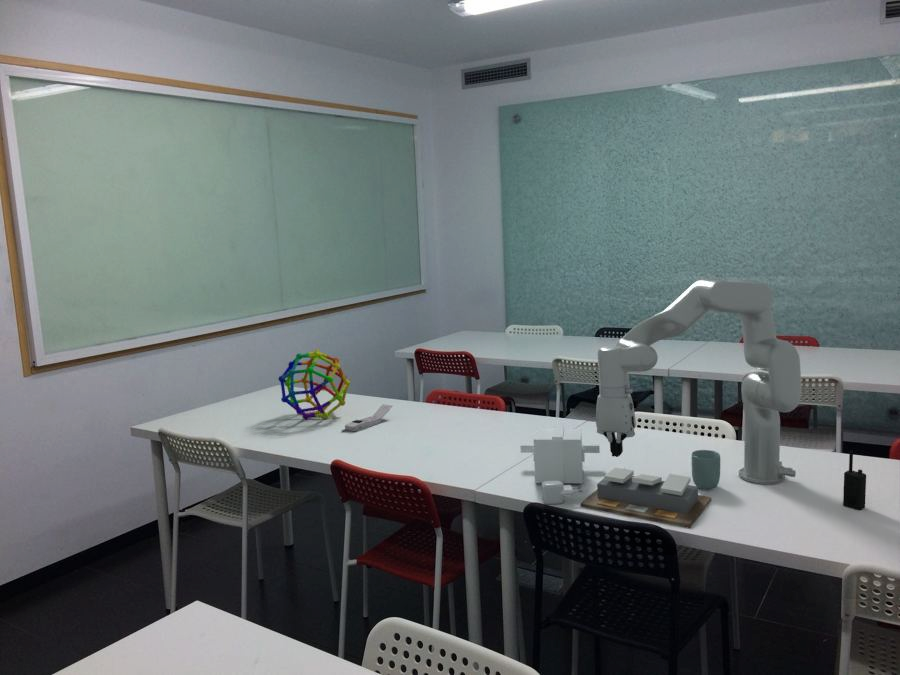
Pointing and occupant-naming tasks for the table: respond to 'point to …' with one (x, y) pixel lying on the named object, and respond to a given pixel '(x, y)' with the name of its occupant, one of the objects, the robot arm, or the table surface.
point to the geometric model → (313, 391)
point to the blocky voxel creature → (559, 454)
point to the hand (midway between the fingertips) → (616, 455)
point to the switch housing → (648, 495)
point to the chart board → (648, 510)
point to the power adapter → (556, 492)
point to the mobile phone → (368, 420)
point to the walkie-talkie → (854, 487)
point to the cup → (706, 469)
